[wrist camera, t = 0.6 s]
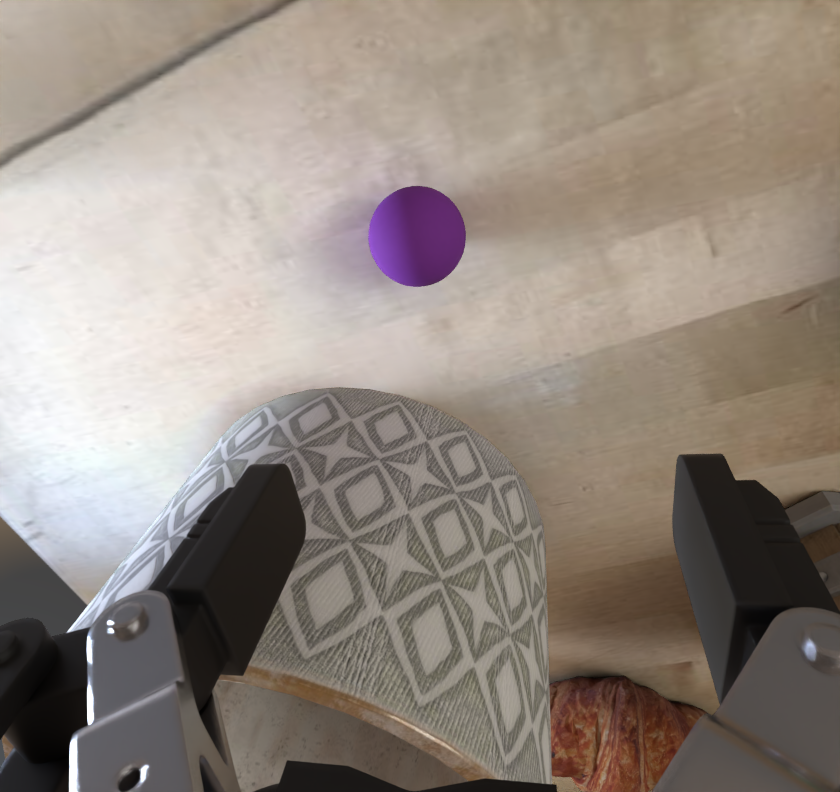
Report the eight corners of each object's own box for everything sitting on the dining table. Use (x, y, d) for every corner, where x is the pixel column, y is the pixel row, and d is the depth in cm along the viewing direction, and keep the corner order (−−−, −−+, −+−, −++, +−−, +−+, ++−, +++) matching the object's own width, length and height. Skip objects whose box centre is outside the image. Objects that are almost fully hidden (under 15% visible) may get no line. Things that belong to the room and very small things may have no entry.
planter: (164, 395, 43) (-120, 667, 24) (508, 335, 37) (484, 648, 18) (289, 627, 55) (162, 932, 36) (567, 615, 48) (591, 982, 29)
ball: (365, 238, 35) (340, 266, 30) (407, 158, 32) (388, 176, 28) (439, 284, 36) (426, 319, 31) (487, 210, 33) (480, 236, 29)
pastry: (575, 774, 60) (581, 868, 53) (476, 692, 55) (468, 783, 49) (735, 729, 52) (765, 831, 45) (634, 629, 48) (652, 726, 41)
